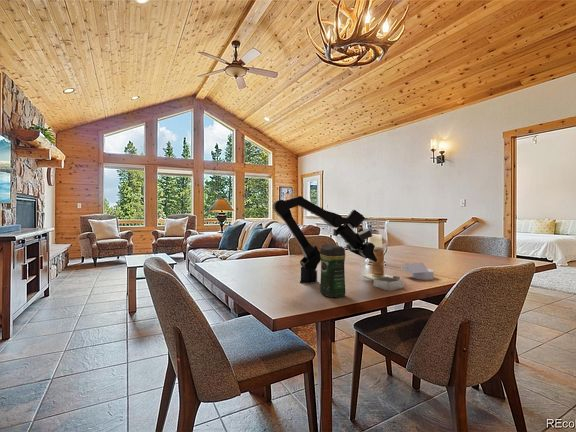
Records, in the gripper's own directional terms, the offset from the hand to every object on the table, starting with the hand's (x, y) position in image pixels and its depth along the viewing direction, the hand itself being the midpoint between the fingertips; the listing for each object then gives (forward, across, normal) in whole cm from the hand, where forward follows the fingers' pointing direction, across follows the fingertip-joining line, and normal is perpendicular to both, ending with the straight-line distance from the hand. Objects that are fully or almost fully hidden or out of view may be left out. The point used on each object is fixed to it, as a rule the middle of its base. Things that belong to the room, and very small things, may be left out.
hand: (371, 259), depth 136 cm
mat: (+8, 0, +4) cm, 9 cm away
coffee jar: (-12, -20, +25) cm, 34 cm away
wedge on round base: (+21, -4, -9) cm, 23 cm away
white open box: (+5, -16, +6) cm, 18 cm away
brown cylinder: (+8, 0, +3) cm, 8 cm away
